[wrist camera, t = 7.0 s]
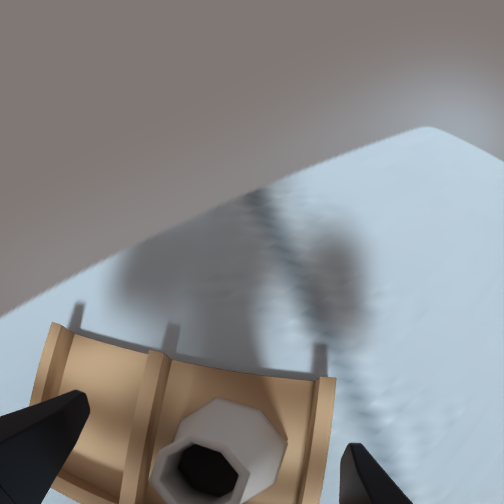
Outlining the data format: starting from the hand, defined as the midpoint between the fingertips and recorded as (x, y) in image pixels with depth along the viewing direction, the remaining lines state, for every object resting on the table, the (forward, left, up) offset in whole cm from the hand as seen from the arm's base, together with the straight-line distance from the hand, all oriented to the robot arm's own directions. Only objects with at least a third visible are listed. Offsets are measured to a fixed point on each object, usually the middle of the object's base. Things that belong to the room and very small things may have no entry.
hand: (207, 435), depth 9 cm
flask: (-1, +1, -10) cm, 10 cm away
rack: (+3, +4, -11) cm, 12 cm away
